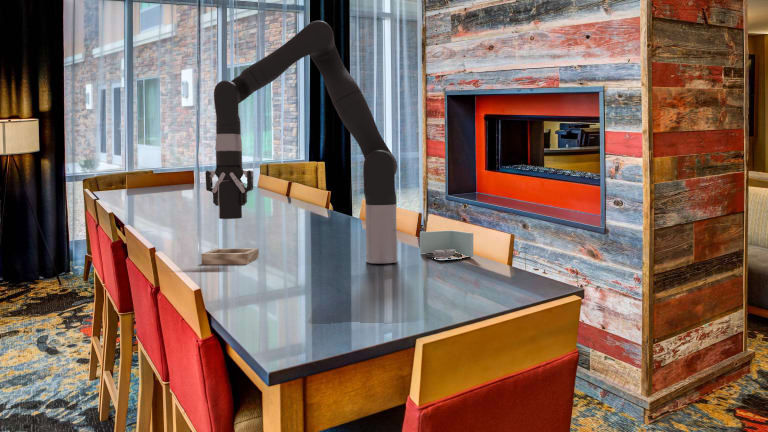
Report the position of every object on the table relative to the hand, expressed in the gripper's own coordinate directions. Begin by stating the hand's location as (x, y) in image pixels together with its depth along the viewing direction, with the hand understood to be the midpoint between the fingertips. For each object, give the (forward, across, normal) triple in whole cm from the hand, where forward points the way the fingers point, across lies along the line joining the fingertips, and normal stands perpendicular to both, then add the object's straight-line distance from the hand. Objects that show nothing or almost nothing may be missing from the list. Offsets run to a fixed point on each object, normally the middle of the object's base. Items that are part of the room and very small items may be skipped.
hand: (230, 205), depth 184 cm
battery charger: (+4, 0, 0) cm, 4 cm away
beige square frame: (+17, 0, 0) cm, 17 cm away
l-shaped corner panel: (+17, -65, -10) cm, 68 cm away
